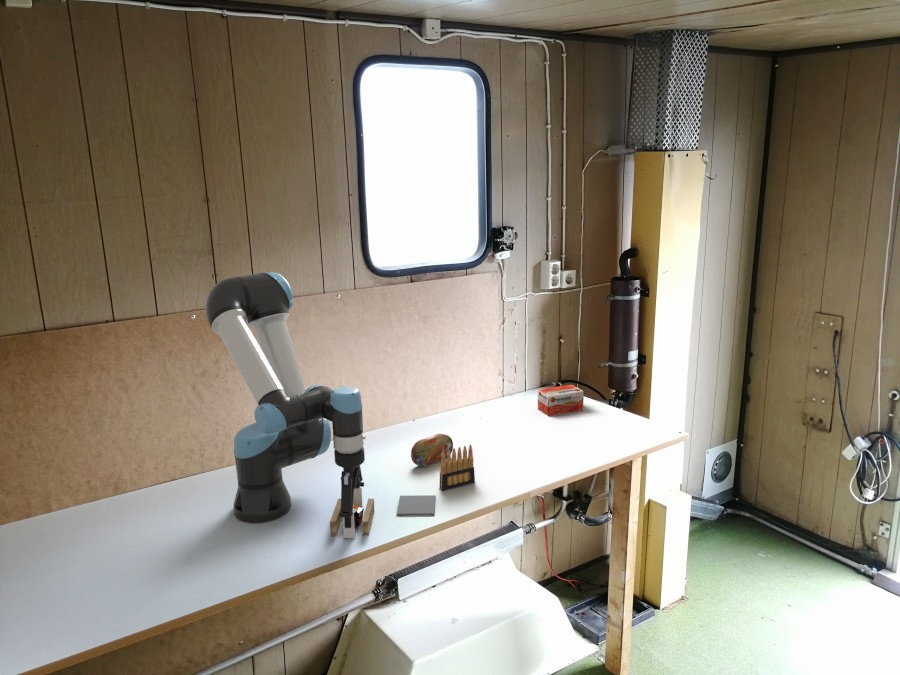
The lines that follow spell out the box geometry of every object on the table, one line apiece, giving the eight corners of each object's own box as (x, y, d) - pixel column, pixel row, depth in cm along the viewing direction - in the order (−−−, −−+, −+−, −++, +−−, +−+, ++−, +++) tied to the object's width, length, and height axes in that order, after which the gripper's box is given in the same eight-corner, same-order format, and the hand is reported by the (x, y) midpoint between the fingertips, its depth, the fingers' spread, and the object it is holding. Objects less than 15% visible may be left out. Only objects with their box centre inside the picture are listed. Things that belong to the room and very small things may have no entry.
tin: (415, 470, 209) (414, 445, 206) (409, 467, 211) (408, 442, 209) (454, 457, 218) (453, 432, 216) (447, 454, 220) (447, 429, 218)
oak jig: (330, 536, 173) (329, 521, 172) (339, 512, 185) (338, 498, 184) (368, 535, 173) (367, 521, 172) (374, 512, 185) (373, 498, 184)
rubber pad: (396, 515, 183) (396, 513, 182) (400, 497, 192) (400, 495, 192) (434, 515, 182) (434, 513, 182) (435, 497, 192) (435, 495, 192)
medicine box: (547, 416, 250) (548, 396, 248) (537, 409, 257) (537, 389, 255) (583, 410, 255) (584, 390, 253) (572, 403, 263) (572, 384, 261)
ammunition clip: (442, 491, 196) (441, 452, 193) (439, 488, 197) (438, 449, 194) (475, 483, 200) (474, 444, 197) (472, 480, 202) (471, 442, 199)
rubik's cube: (356, 531, 177) (358, 514, 175) (339, 525, 178) (341, 508, 177) (363, 523, 180) (365, 507, 179) (347, 517, 182) (349, 501, 180)
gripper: (356, 469, 161) (361, 549, 167) (370, 428, 185) (374, 500, 191) (324, 469, 161) (330, 549, 167) (342, 429, 186) (347, 500, 191)
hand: (353, 523), depth 179 cm, fingers open, 13 cm apart
